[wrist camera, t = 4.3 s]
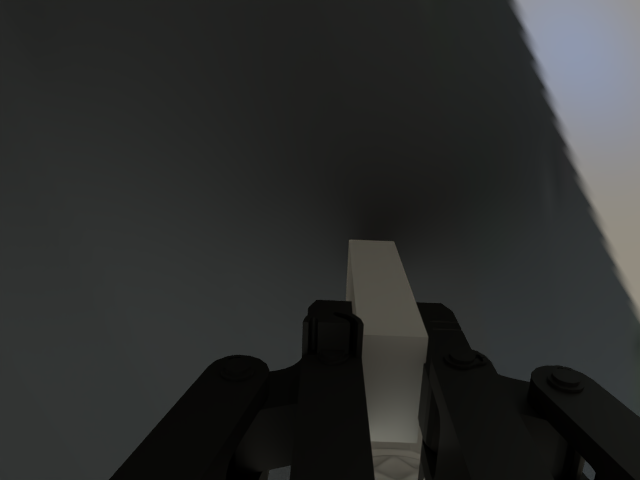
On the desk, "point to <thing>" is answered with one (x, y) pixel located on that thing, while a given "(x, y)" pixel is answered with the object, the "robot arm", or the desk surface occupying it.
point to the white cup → (396, 459)
